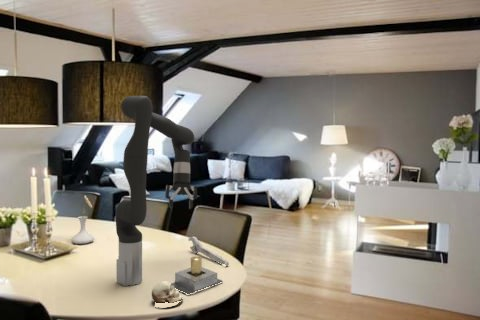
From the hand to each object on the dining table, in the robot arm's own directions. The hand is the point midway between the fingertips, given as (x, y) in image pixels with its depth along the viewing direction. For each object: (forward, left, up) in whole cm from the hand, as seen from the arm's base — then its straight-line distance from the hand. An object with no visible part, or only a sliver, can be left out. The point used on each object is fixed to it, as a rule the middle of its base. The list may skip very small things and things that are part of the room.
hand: (181, 208), depth 183 cm
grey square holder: (-9, -22, -26) cm, 36 cm away
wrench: (+16, -1, -27) cm, 31 cm away
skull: (-27, -26, -27) cm, 46 cm away
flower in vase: (-14, +64, -27) cm, 71 cm away
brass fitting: (-10, -22, -25) cm, 35 cm away
